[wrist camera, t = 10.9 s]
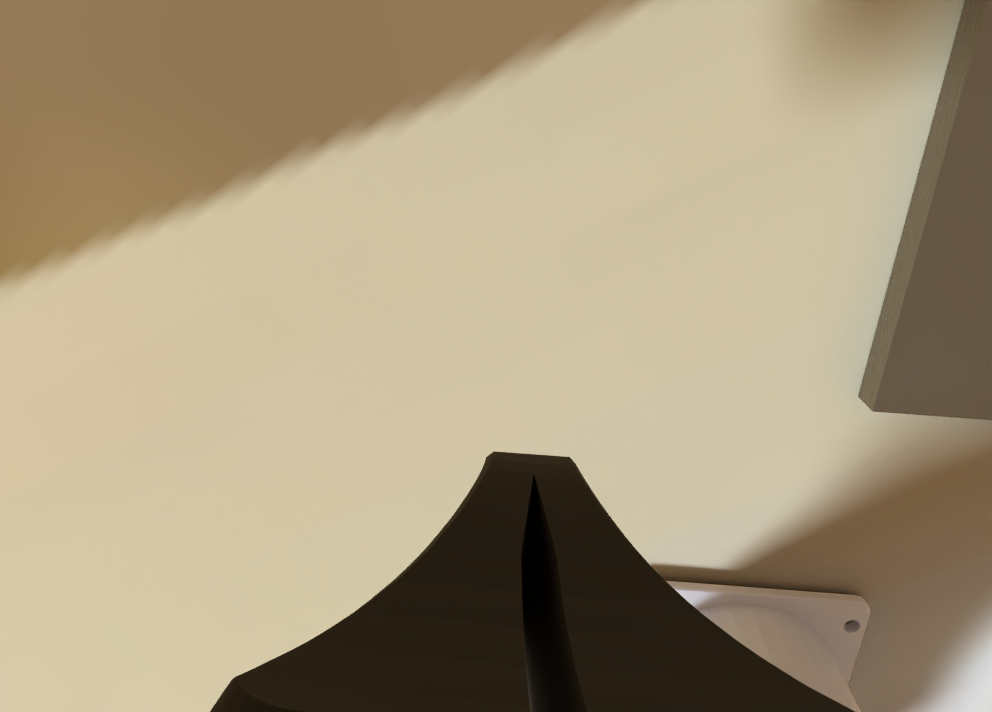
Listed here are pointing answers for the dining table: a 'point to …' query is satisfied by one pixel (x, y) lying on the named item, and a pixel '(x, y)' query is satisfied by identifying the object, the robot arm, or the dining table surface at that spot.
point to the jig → (945, 253)
